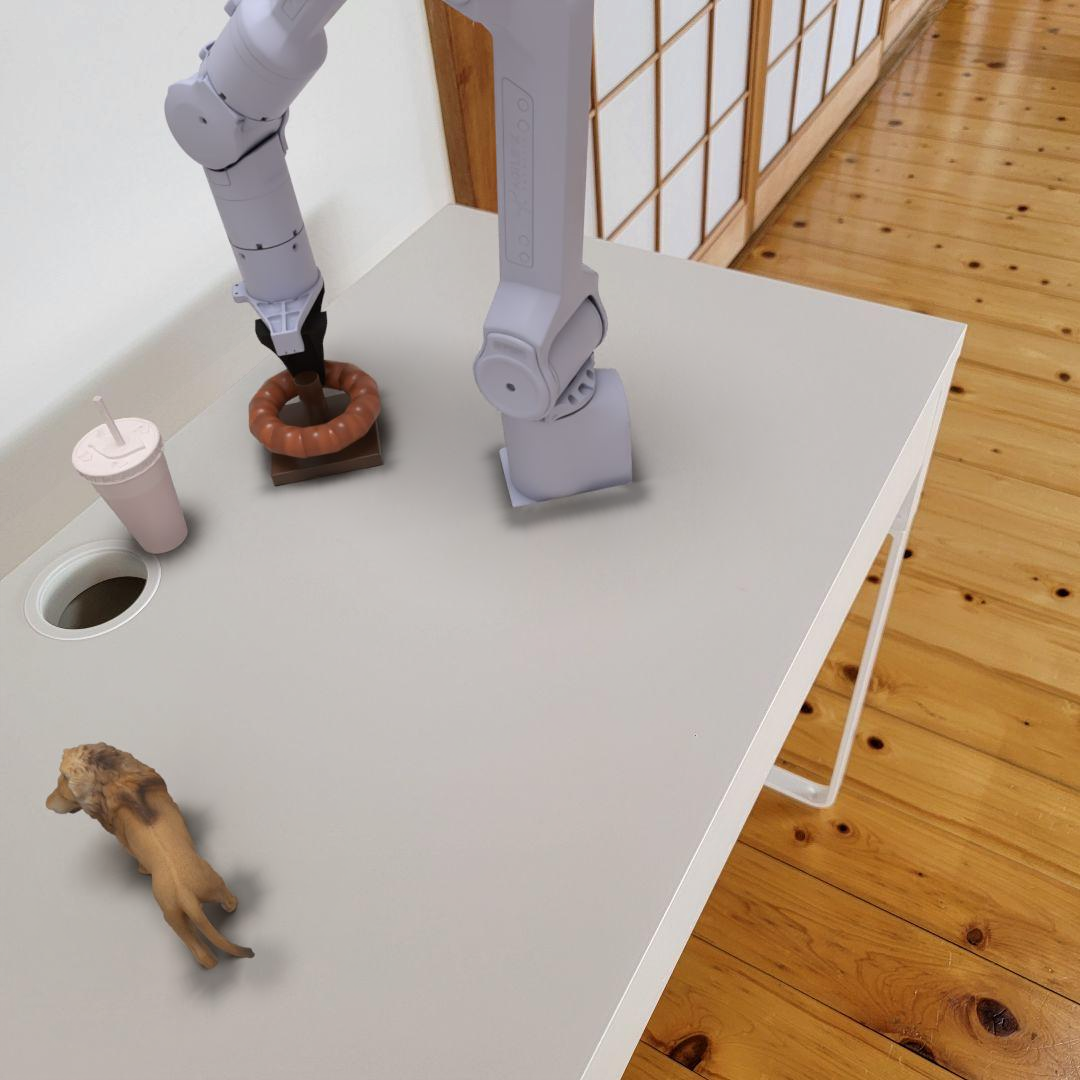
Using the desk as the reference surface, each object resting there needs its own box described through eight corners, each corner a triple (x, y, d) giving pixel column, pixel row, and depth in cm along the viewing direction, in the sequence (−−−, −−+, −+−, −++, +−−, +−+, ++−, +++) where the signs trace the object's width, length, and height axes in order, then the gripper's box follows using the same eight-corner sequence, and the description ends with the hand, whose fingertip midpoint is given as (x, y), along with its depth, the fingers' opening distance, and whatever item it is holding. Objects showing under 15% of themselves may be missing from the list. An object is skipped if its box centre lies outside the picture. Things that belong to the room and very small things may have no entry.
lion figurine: (85, 848, 61) (14, 773, 54) (157, 785, 63) (98, 707, 57) (232, 1005, 54) (171, 941, 47) (306, 927, 56) (259, 856, 50)
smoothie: (183, 570, 76) (109, 431, 66) (108, 562, 77) (24, 425, 67) (217, 510, 80) (152, 371, 70) (146, 504, 81) (72, 366, 71)
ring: (375, 366, 87) (370, 344, 85) (389, 448, 80) (383, 425, 78) (252, 390, 86) (244, 368, 84) (254, 474, 79) (246, 452, 77)
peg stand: (374, 398, 88) (357, 335, 83) (383, 464, 82) (365, 401, 77) (273, 417, 88) (250, 356, 83) (274, 486, 82) (249, 424, 77)
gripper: (215, 194, 80) (265, 334, 90) (209, 291, 70) (266, 437, 80) (303, 178, 80) (343, 319, 90) (309, 273, 70) (353, 420, 80)
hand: (312, 374), depth 85 cm, fingers closed on ring, 2 cm apart
